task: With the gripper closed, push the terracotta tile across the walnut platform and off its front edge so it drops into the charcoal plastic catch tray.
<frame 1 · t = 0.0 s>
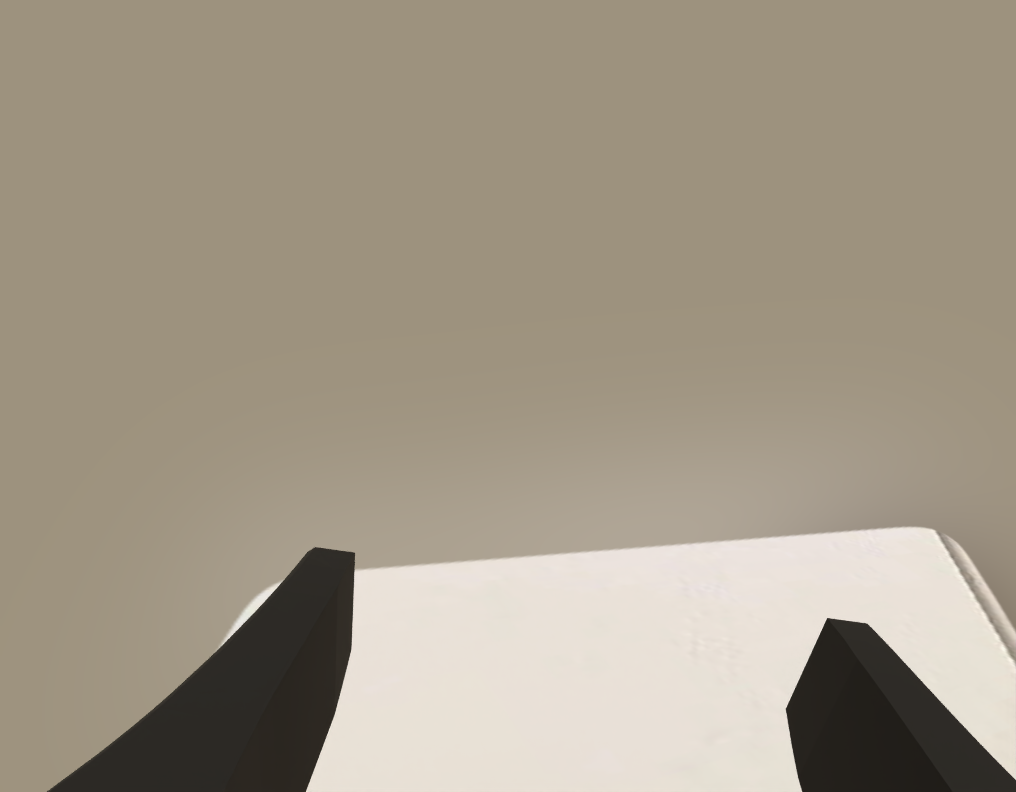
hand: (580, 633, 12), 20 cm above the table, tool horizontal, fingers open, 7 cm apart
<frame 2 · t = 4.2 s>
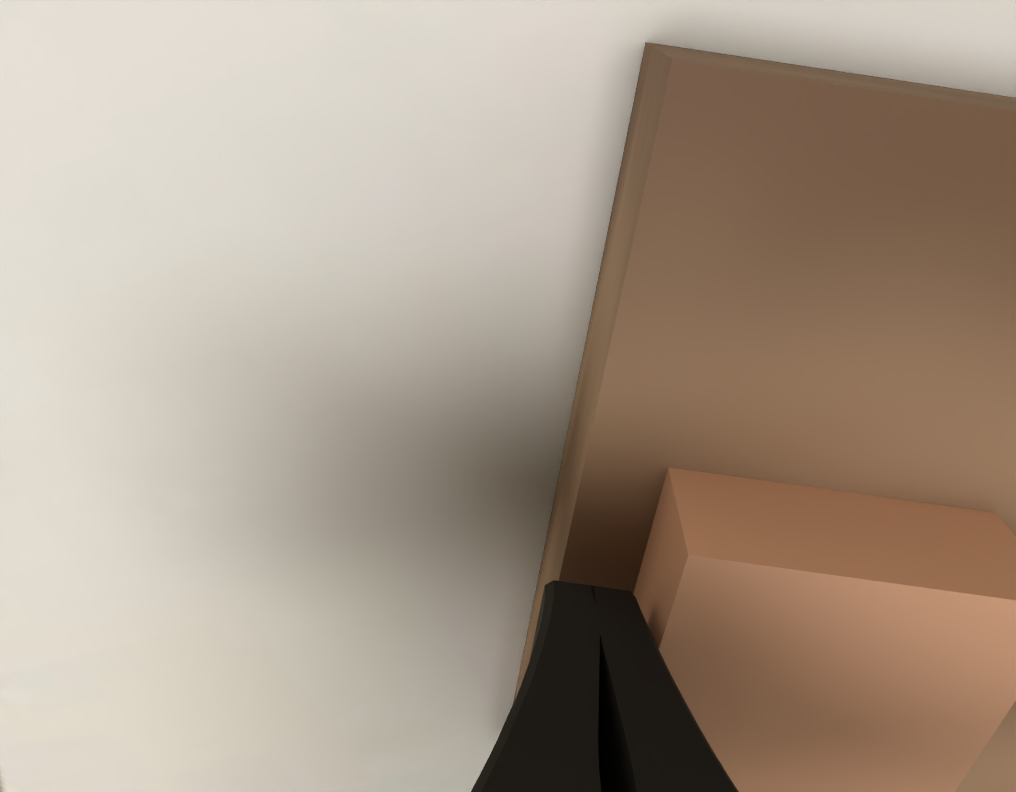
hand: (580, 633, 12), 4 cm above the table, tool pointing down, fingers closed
terracotta tile: (782, 611, 12), point 3 cm above the table, touching walnut platform
walnut platform: (827, 515, 15), on the table
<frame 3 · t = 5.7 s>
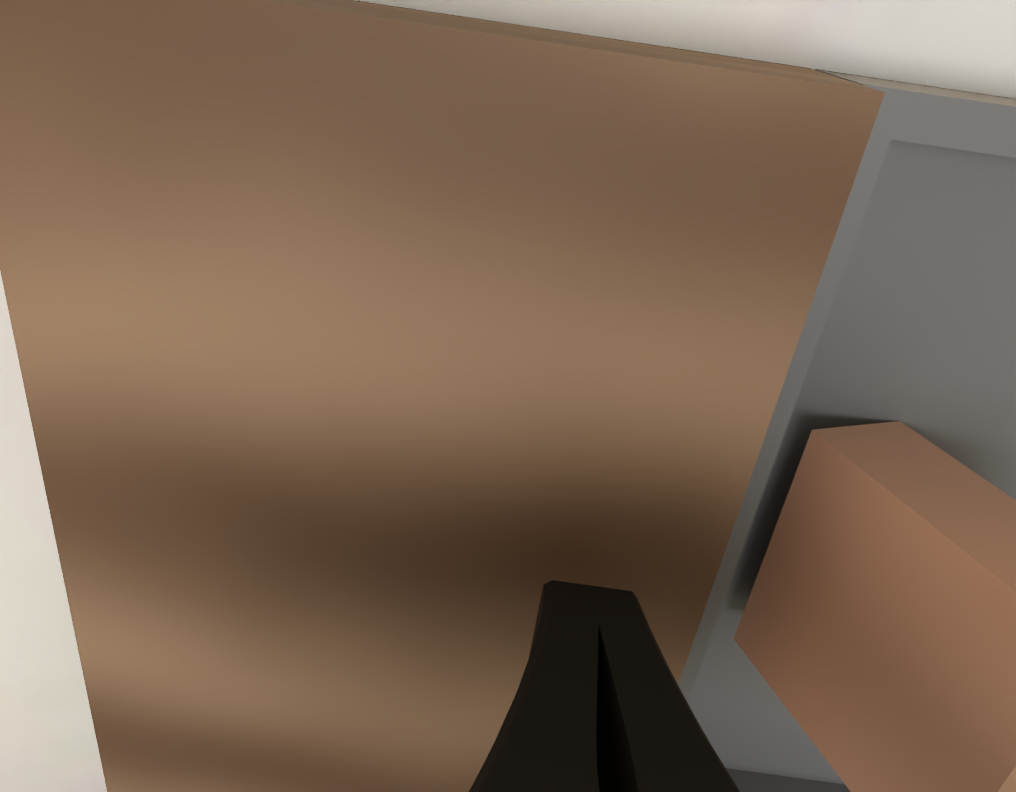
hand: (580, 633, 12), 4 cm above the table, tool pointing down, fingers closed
terracotta tile: (865, 644, 12), point 4 cm above the table, tilted 113°, touching catch tray
walnut platform: (411, 456, 15), on the table
catch tray: (929, 530, 15), on the table
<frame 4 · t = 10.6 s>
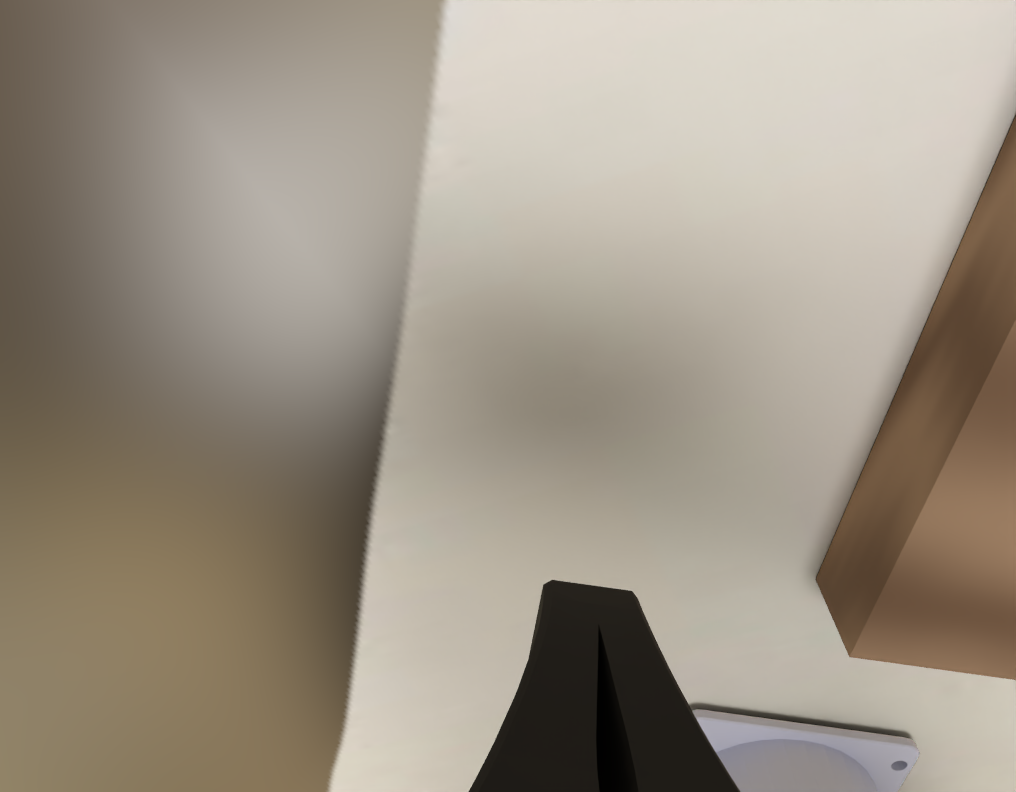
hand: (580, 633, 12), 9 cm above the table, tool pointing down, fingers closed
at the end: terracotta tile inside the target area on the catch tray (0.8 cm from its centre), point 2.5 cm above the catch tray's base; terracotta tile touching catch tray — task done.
